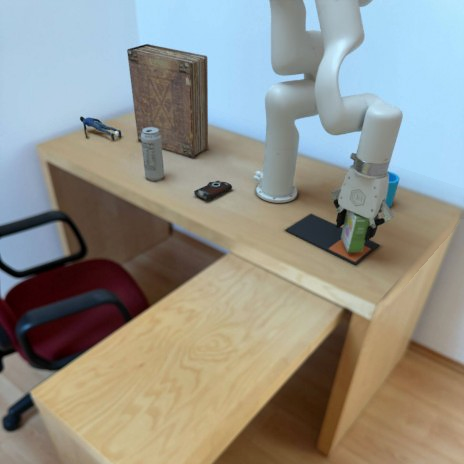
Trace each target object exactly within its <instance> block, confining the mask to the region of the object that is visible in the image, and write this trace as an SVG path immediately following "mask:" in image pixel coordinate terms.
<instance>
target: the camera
mask: <svg viewBox="0 0 464 464" xmlns="http://www.w3.org/2000/svg"><path fill="white" fill-rule="evenodd" d="M230 190H233V185H232V184H231V183H229V182H226V181H220V180H216V181H208V183H207V185H203V186H202V187H200V188H198V189H195V190H193V193H194V195H195V196H196V197H198V198H200V199H201V200H202V199H203V200H204V201H209V200H214V199H215V198H217V197H220V196H222V195H223V194H226V193H228V192H229V191H230Z"/></svg>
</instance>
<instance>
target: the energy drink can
mask: <svg viewBox="0 0 464 464" xmlns="http://www.w3.org/2000/svg"><path fill="white" fill-rule="evenodd" d="M140 143H141V150H142V151H141V152H142V159H143V168H144V176H145V177H146V179H147V180H149V181H151V182H159V181H161V180H162V179H163V177H164V176H165V168H164V155H163V149H162V142H161V134H160V133H159V130H158V129H157V128H155V127H147V128H144V129H143V130H142V134H141V142H140Z"/></svg>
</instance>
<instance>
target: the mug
mask: <svg viewBox="0 0 464 464" xmlns="http://www.w3.org/2000/svg"><path fill="white" fill-rule="evenodd" d="M387 173H389V185H388V192H387V197H386V201H385V203H386V204H387V206H388V207H389V208H391V207H392V205H393V202H394V199H395V196H396V192H397V189H398V186H399V182H400V179H401V178H400V176H399V175H398V174H397V173H394V172H392V171H389V170H388V171H387Z"/></svg>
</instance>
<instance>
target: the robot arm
mask: <svg viewBox="0 0 464 464" xmlns="http://www.w3.org/2000/svg"><path fill="white" fill-rule="evenodd" d="M268 1H269V8H270V61H271V62H270V63H271V68H272V72H274V74H276V75H279V76H282V77H283V76H285V77H286V76H296V75H297V76H298V75H303V79H293V80H287V81H280V82H277V83H275V84H273V85H271V86H270V87H269V88H268V90H267V91H266V93H265V96H264V109H265V122H266V123H265V125H266V126H265V140H264V153H263V154H264V155H263V166H262V171H260V170H256V171H255V173H254V175H253V177H252V178H253V180H254V181H256V182H258V184H257V186H256V189H255V190H256V191H255V193H256V195H257V196H258V197H259V198H260V199H261V200H263V201H266V202H270V203H275V204H283V203H284V204H285V203H289V202H291V201H293V200H295V199H296V198H297V196H298V188H296V187H295V186H294V181H295V175H296V166H297V160H298V152H299V147H300V145H299V144H300V133H299V130H298V128H297V126H296V124H295V123H296V121H297V120H300V119H306V118H310V117H315V116H318V118H319V121H320V123H321V125H322V129H324V131H325V132H326V133H327V134H328V135H331V136H341V135H346V134H347V135H348V134H351V133H357V132H359V133H360V136H359V141H358V144H357V148H356V149H357V150H356V152H352V153H351V154H350V157H349V159H350V160H352V161H353V164H351V165H350V166H349V167H348V170H347V172H346V174H345V177H344V180H343V182H342V185H341V187H339V188H338V189H333V191H331V192H330V195H331V198H332V201H333V204H334V207H335V209H336V210H335V211H336V213H337V215H336V220H335V223H336V224H335V225H336V228H339V227H343V225H344V221H345V216H346V212H347V210H349V211H351V212H353V213H356V214H358V215H360V216H363V217H365V218H369V221H370V225H369V226H368V228H367V232H366V236H365V241H368V240H371V239H373V238H374V237H375V236H376V233H377V230H378V227H379V226H381V225H383V224H385V223H387V222H388V221H390V220H392V219H393V218H394V217H395V215H394V213H393V212H392V209H391V208H390V207H388V206H387V204H386V203H385V201H386V197H387V192H388V185H389V173H387V171H389V168H390V163H391V160H392V157H393V154H394V150H395V146H396V142H397V139H398V135H399V132H400V130H401V125H402V122H403V118H404V117H403V115H404V114H403V111H402V109H401V108H400V107H398V106H396V105H392V104H388V103H386V101H384V100H383V99H382V98H381V97H379V96H378V95H376V94H375V93H370V92H365V93H358V94H351V95H346V96H342V94H341V89H340V83H339V82H340V81H339V74H340V69H341V66H342V64H343V62H344V60H345V59H346V57H347V56H348V55H350V54H352V53H353V52H355V51H356V50H357V49H358V48H360V47H361V45H362V44H363V43H364V41H365V30H364V25H363V20H362V14H361V8H364V7H366V6H368V5H370V4H371V3H372V2H373V0H314V2H315V3H314V4H315V8H316V13H317V18H318V23H319V29H320V30H318V29H317V30H316V29H312V30H311V29H310V30H307V28H306V27H307V25H306V24H307V9H306V4H305V2H304V0H268ZM372 210H373V211H372ZM381 213H383V215H384V216H383V217H380V214H381Z"/></svg>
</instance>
